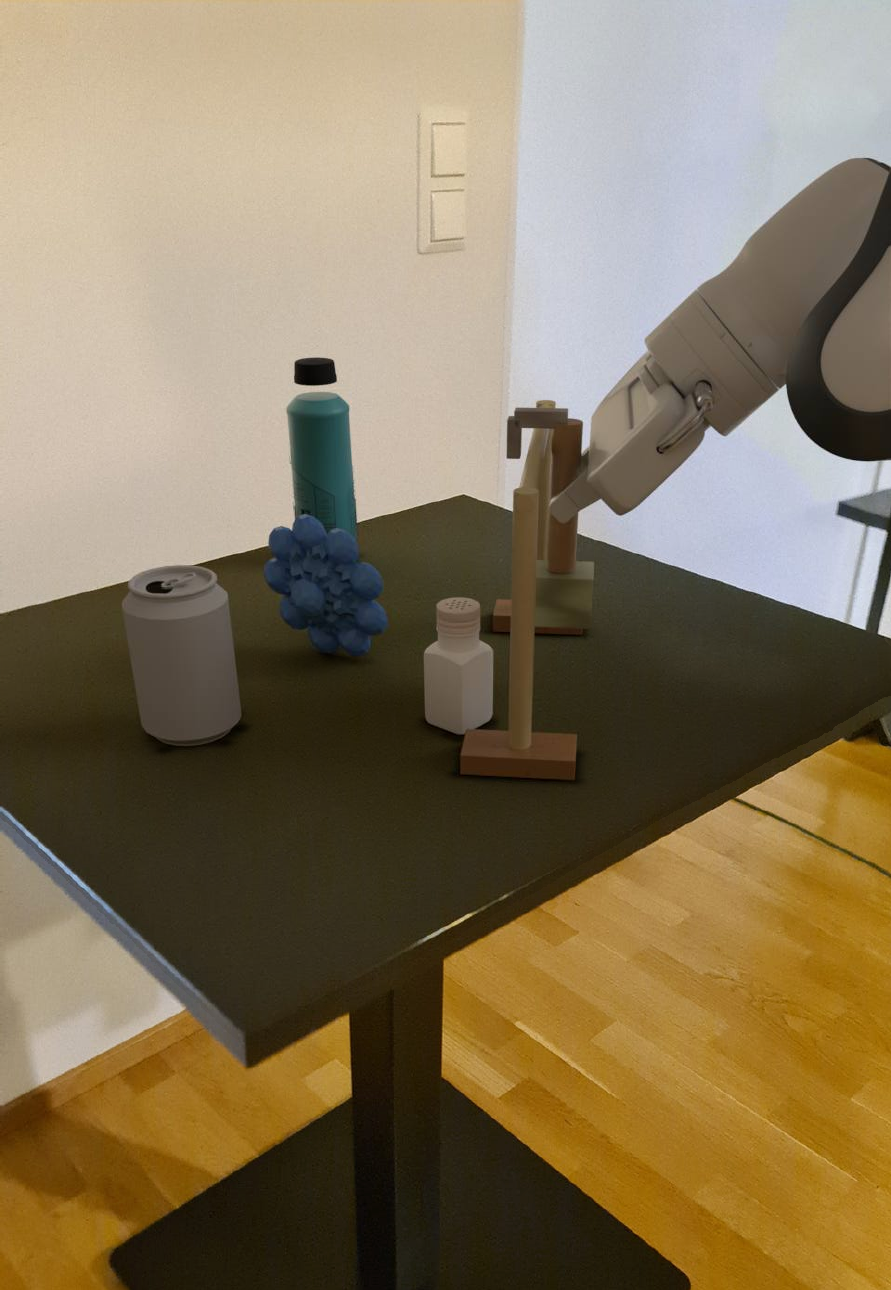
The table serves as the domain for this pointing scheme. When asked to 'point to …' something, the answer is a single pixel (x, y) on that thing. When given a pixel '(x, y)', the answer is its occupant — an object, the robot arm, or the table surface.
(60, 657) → the table surface
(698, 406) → the robot arm
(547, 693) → the table surface
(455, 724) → the pepper shaker
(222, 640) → the can
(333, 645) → the grapes
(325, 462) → the beverage bottle
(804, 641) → the table surface
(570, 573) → the hook hanger stand
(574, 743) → the wooden dowel stand
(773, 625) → the table surface
